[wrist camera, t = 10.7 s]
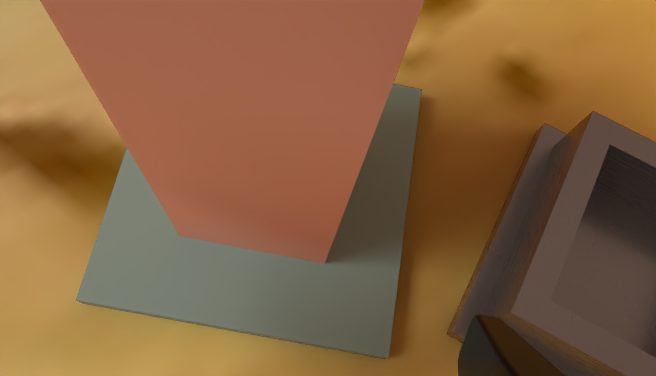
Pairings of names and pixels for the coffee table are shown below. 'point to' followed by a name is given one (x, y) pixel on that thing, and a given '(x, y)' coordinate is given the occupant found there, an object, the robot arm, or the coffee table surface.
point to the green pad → (268, 258)
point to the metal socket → (576, 252)
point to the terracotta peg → (244, 106)
